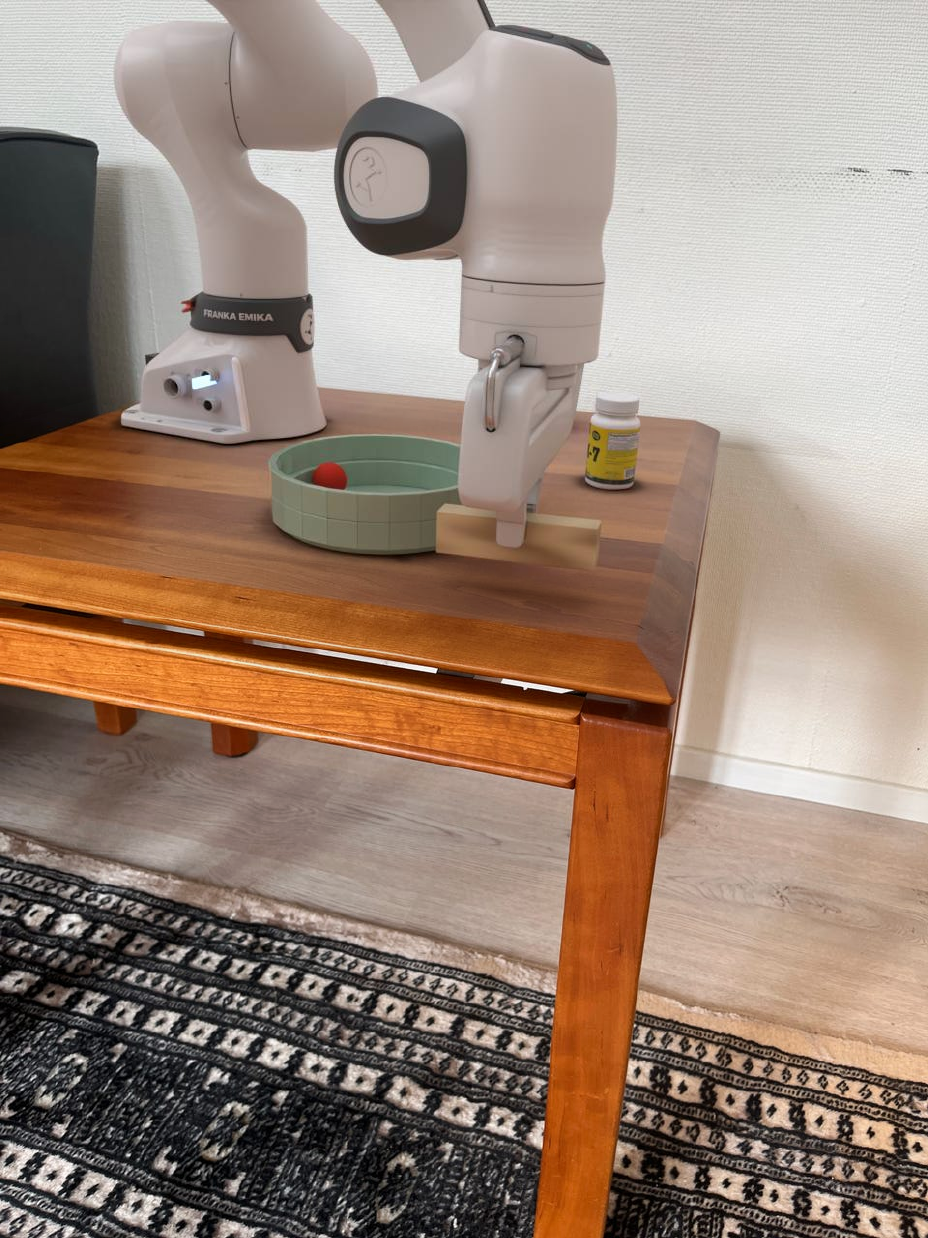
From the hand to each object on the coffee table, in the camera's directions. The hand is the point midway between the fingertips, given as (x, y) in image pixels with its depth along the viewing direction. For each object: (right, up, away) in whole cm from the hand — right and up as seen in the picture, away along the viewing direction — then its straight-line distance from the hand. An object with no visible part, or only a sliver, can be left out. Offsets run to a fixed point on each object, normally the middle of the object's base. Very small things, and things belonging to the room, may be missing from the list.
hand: (516, 536), depth 67 cm
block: (0, -1, +1) cm, 2 cm away
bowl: (-11, +3, +16) cm, 19 cm away
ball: (-15, +6, +18) cm, 25 cm away
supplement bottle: (+10, +7, +28) cm, 31 cm away
